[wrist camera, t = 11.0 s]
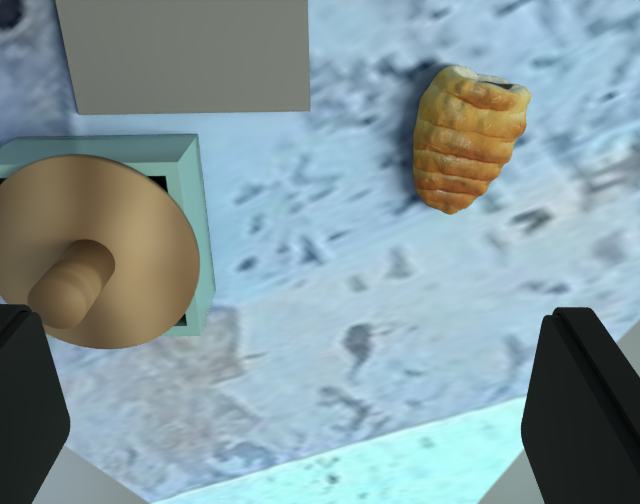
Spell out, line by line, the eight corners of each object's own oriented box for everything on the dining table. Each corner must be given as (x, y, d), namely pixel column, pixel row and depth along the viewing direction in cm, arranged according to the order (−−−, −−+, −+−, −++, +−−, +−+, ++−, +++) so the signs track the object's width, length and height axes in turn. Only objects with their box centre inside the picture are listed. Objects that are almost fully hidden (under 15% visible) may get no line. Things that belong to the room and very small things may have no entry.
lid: (186, 151, 33) (160, 186, 28) (211, 340, 39) (193, 399, 33) (-42, 156, 33) (-110, 192, 28) (17, 343, 39) (-30, 402, 34)
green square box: (197, 134, 38) (177, 162, 33) (215, 290, 44) (200, 335, 38) (18, 137, 38) (-31, 165, 33) (58, 292, 44) (21, 338, 39)
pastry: (480, 212, 41) (494, 235, 38) (389, 193, 41) (394, 214, 37) (530, 80, 37) (550, 92, 34) (429, 56, 36) (439, 66, 33)
